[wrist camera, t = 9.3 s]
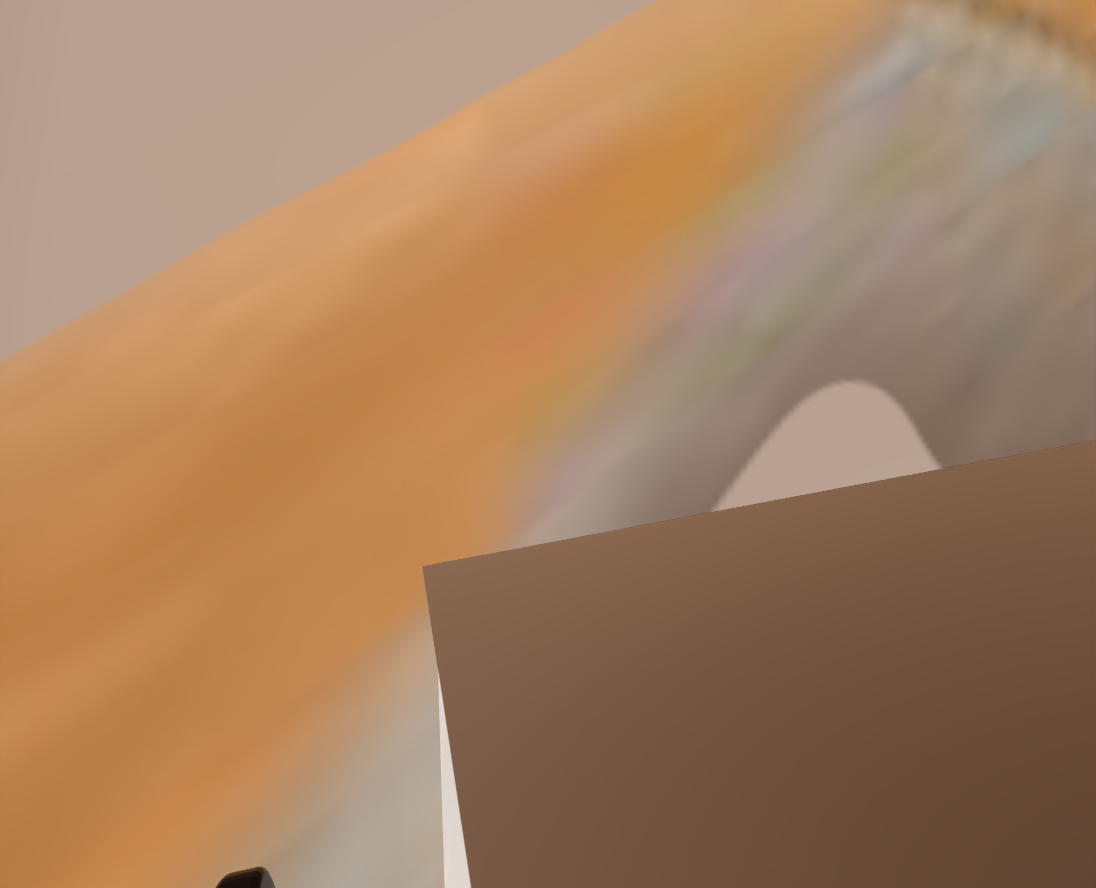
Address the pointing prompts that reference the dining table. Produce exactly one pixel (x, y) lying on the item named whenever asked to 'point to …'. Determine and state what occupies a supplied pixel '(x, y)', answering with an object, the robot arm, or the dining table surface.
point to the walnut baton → (788, 691)
